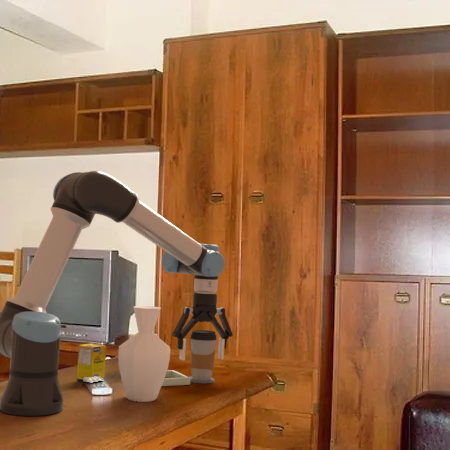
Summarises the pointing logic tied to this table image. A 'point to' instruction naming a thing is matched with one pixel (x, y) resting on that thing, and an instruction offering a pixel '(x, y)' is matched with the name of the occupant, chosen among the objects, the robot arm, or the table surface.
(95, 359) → the supplement box
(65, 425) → the table surface
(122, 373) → the vase
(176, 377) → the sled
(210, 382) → the coaster
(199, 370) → the coffee cup
